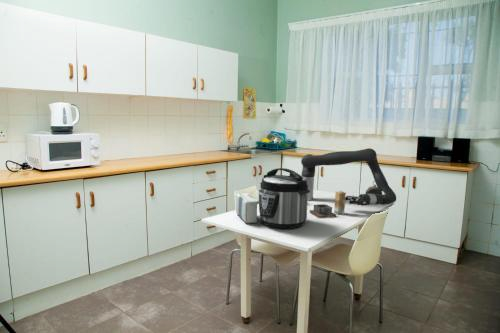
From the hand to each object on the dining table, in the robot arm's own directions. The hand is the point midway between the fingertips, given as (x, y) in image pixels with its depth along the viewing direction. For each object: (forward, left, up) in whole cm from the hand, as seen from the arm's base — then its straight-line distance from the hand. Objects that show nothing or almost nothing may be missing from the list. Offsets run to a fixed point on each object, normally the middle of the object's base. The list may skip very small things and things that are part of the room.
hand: (345, 200), depth 228 cm
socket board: (-12, -10, -8) cm, 18 cm away
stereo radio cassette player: (-51, -41, -9) cm, 66 cm away
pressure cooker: (-30, -39, -9) cm, 50 cm away
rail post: (-3, -3, -8) cm, 9 cm away
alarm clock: (+15, +38, -9) cm, 42 cm away
